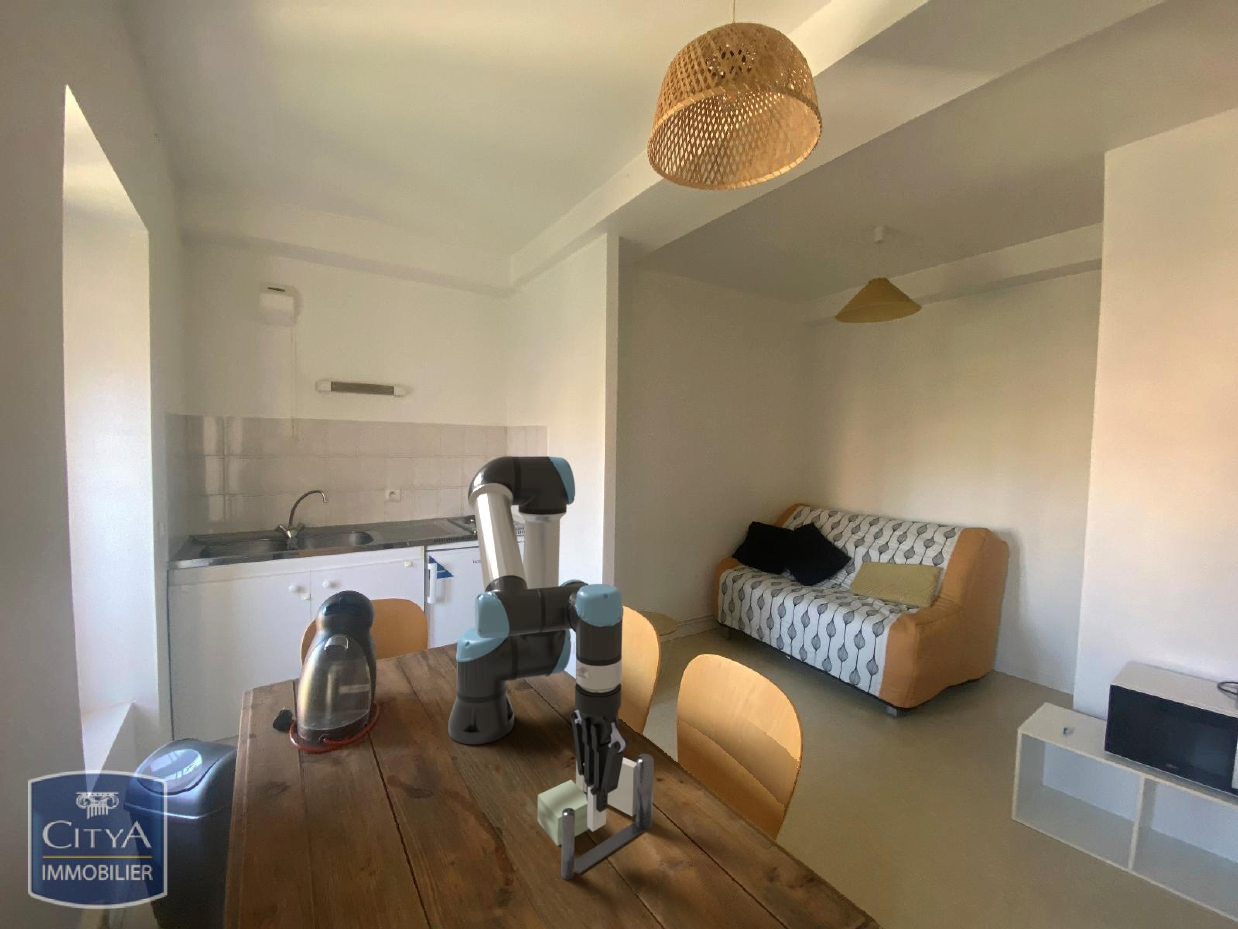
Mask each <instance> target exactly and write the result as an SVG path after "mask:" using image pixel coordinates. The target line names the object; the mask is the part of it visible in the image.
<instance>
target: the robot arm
mask: <svg viewBox="0 0 1238 929" xmlns="http://www.w3.org/2000/svg"><path fill="white" fill-rule="evenodd" d="M575 497H576V482H575V477H574V472H573V469H572V467H571V465H570V463H569V462H568V460H567V459H566V458H564V457H559V456H550V455H548V456H545V455H544V456H511V455H505V456H499V457H497V458H493V459H492V460H489V461H488V462H487V463H486V464H483V465H482V467H480V469H479V470H478V471H477V472H476V473H475V475H474V476H473V478H472V480H471V482H470V484H469V487H468V490H467V500H468V507H469V510H470V511H471V513H473V514H474V517H475V525H476V533H477V542H478V543H477V544H478V549H479V551H478V552H479V557H480V565H481V572H482V582H483V589H484V592H482V593H481V592H480V593H478V594H477V595H476V597H475V599H474V600H475V601H474V621H475V622H474V623H475V625H474V626H473V627H471V628H469V629H467V630H465V631H464V632H463V633H462V634H461V635H460V636H459V638H458V640H457V646H456V647H457V648H456V654H455V660H456V695H455V696H456V697H455V701H454V703H453V705H452V709H451V712H450V716H449V718H448V721H447V724H448V726H447V727H448V735H449V737H450V738H451V739H452V740H454V741H456V742H457V743H460V744H464V745H483V744H488V743H491V742H492V743H493V742H494V741H497V740H500V739H502V738H504V737H505V736H507V735H508V734H510V732H511V731H512V729H513V727H514V724H515V712H514V710H513V706H512V703H511V701H510V700H511V699H510V697H509V694H508V683H509V682H512V681H519V680H526V679H528V680H529V679H533V678H539V677H549V676H551V675H556V674H560V673H563V672H564V671H565V669H567V667H568V665H569V661H570V658H571V652H572V641H571V639H572V636H571V630H573V632H574V633H575V658H576V659H575V682H576V684H575V687H574V692H575V693H574V705H575V708H576V710H574V711H572V712H570V713H569V718H570V719H569V720H570V722H571V726H572V733H573V739H574V740H573V741H574V748H575V749H574V750H575V757H576V759H577V767H578V773H579V775H580V776H582V775H583V776H584V781H585V784H586V785H587V788H586V791H587V792H585V794H586V798H587V802H588V805H587V827H588V828H589V829H588V830H590V831H591V832H592V833H593V832H594V831H596V830H597V831H598V829H599V828H602V827H603V826H605V825H606V824H607V823H606V822H607V809H608V805H609V804H608V793H610V792H612V791H613V790H615V789H617V787H618V782H619V777H620V772H621V767H622V762H623V757H624V756H625V752H626V749H627V748H628V746H629V745H630V741H629V739H628V737H626V736H625V737H622V735H621V734H620V733H619V721H618V722H617V716H616V715H617V712H618V713H619V710H620V708H621V706H622V684H621V683H622V681H623V680H622V679H623V660H622V659H623V656H622V655H623V654H622V652H623V619H624V618H623V617H624V607H623V606H624V605H623V594H622V591H621V590H620V589H619V588H618V587H617V586H615V585H610V584H605V583H592V584H589V583H587V582H584V581H582V580H581V579H574V578H573V579H569V580H566V581H564V582H563V583H561V584H559V581H560V580H559V579H560V577H559V576H560V544H561V543H560V539H561V536H560V535H561V519H562V518H563V517H564V516H565V515H566V514H567V509H568V508H567V507H568V506H570V505H572V504H573V503H574V502H575ZM512 506H518V514H520V516H521V517H522V518H523V520H524V531H523V532H524V533H523V534H524V538H523V539H524V540H523V541H524V542H523V543H524V544H523V559H522V554H521V550H520V545H519V540H518V535H517V531H516V527H515V521H514V519H513V513H512ZM580 724H581V725H580ZM624 758H625V757H624ZM584 763H585V764H584ZM583 764H584V765H583Z"/></svg>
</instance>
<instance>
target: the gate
mask: <svg viewBox="0 0 1238 929" xmlns="http://www.w3.org/2000/svg"><path fill="white" fill-rule="evenodd" d="M575 763H576V764H575V767H576V768H575V770H576V771H575V784H576V785H577V786H578V787H579V788H580V789H581V790H582V791H583V792H584V793H586V792H587V791H586V788H587V785H586V784H585V781H584V776H583V775H582V776H580V775H579V773H578V767H577V759H576V762H575ZM584 764H585V763H584ZM584 764H583V765H584ZM636 777H637V761H633V760H631V759H628V758H626V757H623V762H622V767H621V772H620V777H619V782H618V787H617V789H615V790H613V791H612V792H610V793H608V805H609V806H611V807H613V808H615V809H617V810H618V811H620V812H623V813H625V814H626V815H629V816H630V817H634V815H636Z"/></svg>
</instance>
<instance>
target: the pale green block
mask: <svg viewBox="0 0 1238 929" xmlns="http://www.w3.org/2000/svg"><path fill="white" fill-rule="evenodd" d="M587 805H588V802H587V798H586V792H584V791H582V790H581V789H580V788H579V787H578V786H577V785H576V782H574V780H572V779H569V780H567V781H565V782H563V783H561V784H558V785H556V786H554V787H551V788H550V789H548V790H545V791H544V792H541V793H539V794H537V822H538V823H539V825H540V826H541V827H542V828H543V830H544V832H545V833H546V834H547V835H548V836H549V837H550V839H551V840H552V842H554V844H555V845H556V846H557V847H559V846H562V811H563V810H564V809H566V808H572V809H574V811H575V837H577V836H579V835H581V834H583V833H584V832H587V831H588V830H590V829H589V828H588V827H587Z"/></svg>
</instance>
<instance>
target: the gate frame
mask: <svg viewBox="0 0 1238 929" xmlns="http://www.w3.org/2000/svg"><path fill="white" fill-rule="evenodd" d="M654 761H655V759H654V757H653V755H651V754H648V753H640V754H639V755H638V756H637V757H636V763H637V777H636V813H635V821H633V822H632V823H631V824H629V825H627V826H626V827H624V828H623V829H621V830H619V831H618V832H616V833H615V834H614V835H612V836H610V837H608V838H607V839H606V840H604V841H603V842H601V843H599V844H598V845H596V846H595V847H593V848H591V849H589V851H586V852H585V853H584V854H582V855H580V856H579V857H577V858H576V859H575V837H576V836H575V811H574V809H572V808H566V809H564V810H563V811H562V844H561V856H560V857H561V863H560V864H561V865H560V866H561V868H560V869H561V870H560V871H561V872H560V874H561V875H560V876H561V878H562V879H563V880H566V881H568V880H571V879H573V878H574V876H575V870H576V872H577V873H578V874H579V875H580V874H582V873H583V872H585V871H586V870H588V869H590V868H591V867H593V866H595V865H596V864H597V863H599V862H600V861H602V860H603V859H605V858H606V857H608V856H609V855H611V854H612V853H614V852H616V851H617V850H618V849H620V848H622V847H623V846H625V845H626V844H628V843H629V842H631V841H632V840H633V839H635V838H636V837H638V836H639V835H641V834H642V833H644V832H646V831H649V830H651V829H652V828H653V810H654V809H653V807H654V806H653V804H654V800H653V799H654V769H655V768H654V764H655V763H654Z"/></svg>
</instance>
